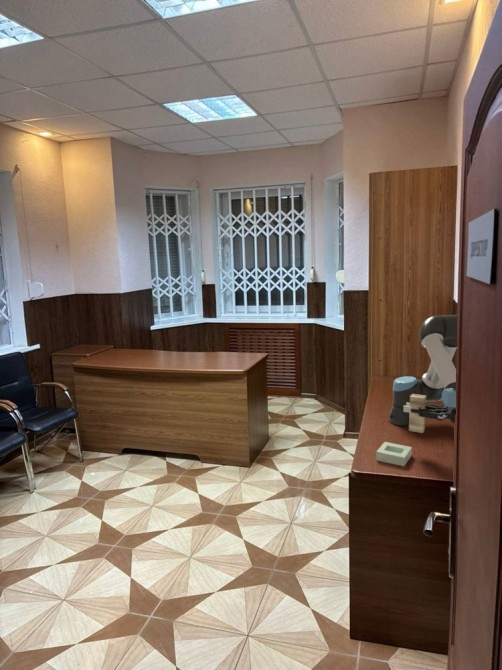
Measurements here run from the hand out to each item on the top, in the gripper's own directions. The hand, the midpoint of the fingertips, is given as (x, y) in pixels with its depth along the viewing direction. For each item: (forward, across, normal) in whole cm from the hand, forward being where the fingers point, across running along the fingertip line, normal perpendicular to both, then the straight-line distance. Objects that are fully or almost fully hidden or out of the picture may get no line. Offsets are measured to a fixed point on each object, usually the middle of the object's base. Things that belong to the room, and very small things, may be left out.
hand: (405, 407), depth 211 cm
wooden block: (-5, 0, -10) cm, 11 cm away
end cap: (+1, -11, -20) cm, 23 cm away
